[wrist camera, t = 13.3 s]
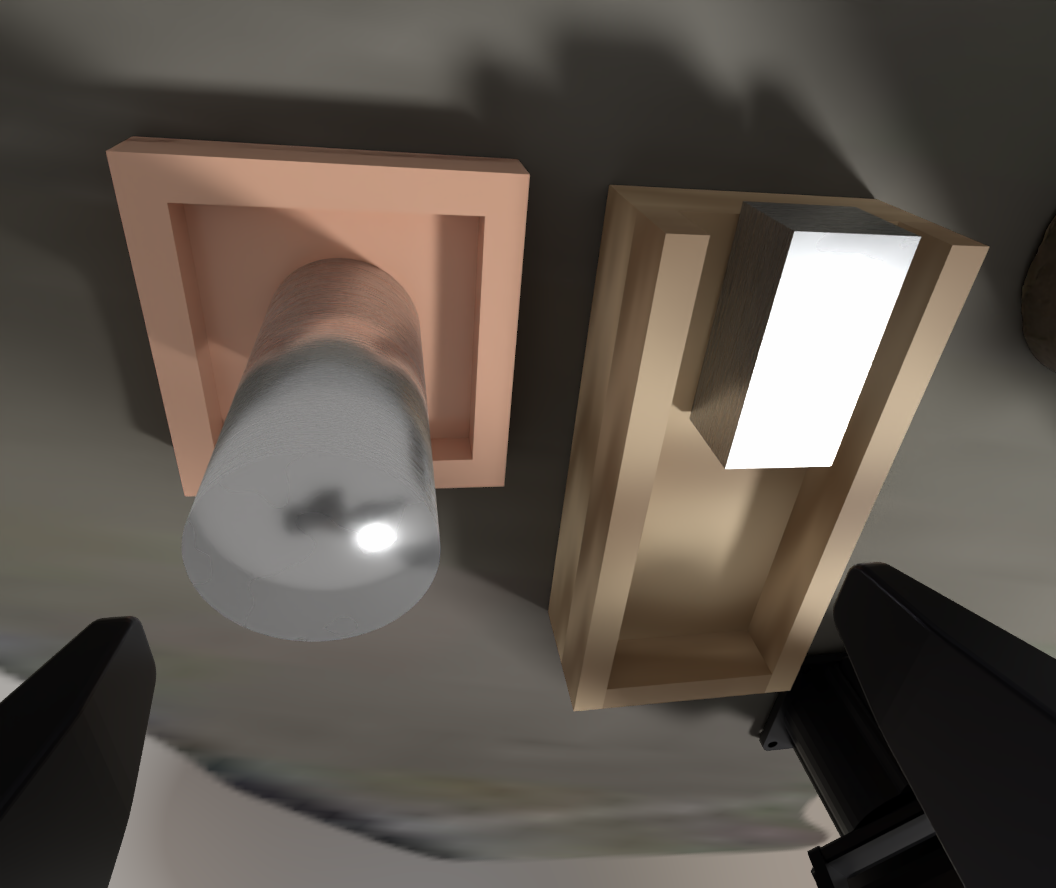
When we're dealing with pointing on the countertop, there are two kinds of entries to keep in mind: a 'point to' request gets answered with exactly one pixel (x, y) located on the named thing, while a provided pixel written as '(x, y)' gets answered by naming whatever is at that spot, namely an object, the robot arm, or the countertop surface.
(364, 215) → the rack tray
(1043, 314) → the pillar candle
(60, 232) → the countertop surface
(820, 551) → the socket block
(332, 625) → the grey tall cylinder
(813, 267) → the grey rectangular metal block
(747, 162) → the countertop surface
